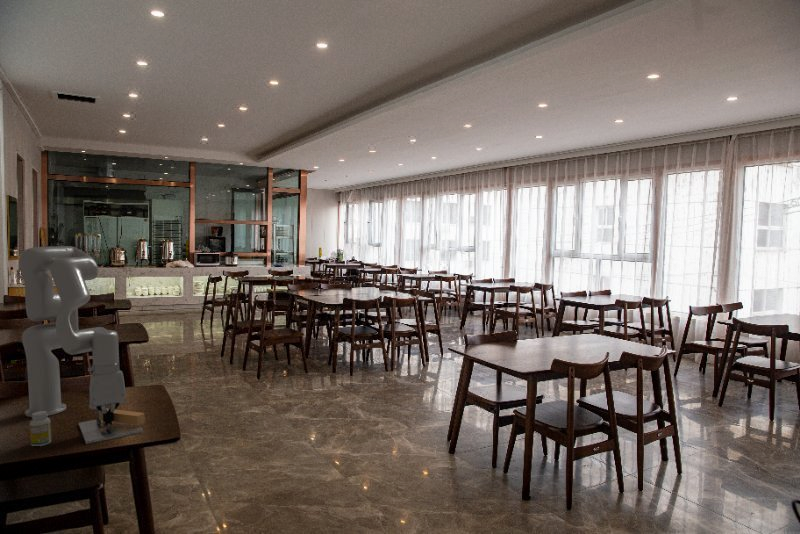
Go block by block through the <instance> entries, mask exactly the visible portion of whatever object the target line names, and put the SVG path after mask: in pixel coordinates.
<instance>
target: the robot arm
mask: <svg viewBox="0 0 800 534" xmlns="http://www.w3.org/2000/svg"><path fill="white" fill-rule="evenodd" d="M18 267H19V270H20V273H21V276H22V279H23V281H24V282H23V283H24V298H25V299H24V300H25V311H26V315H27V319H28V320H30V321H31V322H42V321H43V322H44V321H51V320H55V322H48V323H43V324H42V323H41V324H36V325H33V326H30V327H28V328H26V329H25V330H24V331H23V332H22V335H21V342H22V345H23V348H24V353H25V360H26V367H27V368H26V371H27V383H28V384H27V385H28V397H29V398H28V399H29V400H28V401H29V402H28V403H29V408H27V409H26V410H25V411H24V416H26V417H28V418H29V417H30V418H32V414H33V413H35V412H39V411H47V413H48V416H54V415H57V414H59V413H63V412H64V411H65V410H66V409H67V404H65V403H63V402H62V394H61V377H60V376H61V375H60V373H61V372H60V361H59V359H58V358H57V356H56V355H55V354H54V353H53V352H52V351H53V350H56V349H57V350H58V349H62V350H63V351H64V352H65V353H67V354H69V355H78V354H83V353H88V352H91V353H92V365H91V366H89V367H87V371H88V372H91V375H90V379H89V392H88V393H89V397H88V398H89V405H88V408H89V409H90V410H96V409H98V410H99V411H101V412H102V413H103V422H105V423H106V425H108V424H112V421H114V411H115V410H117V408H118V407H119V406H121V405H124V404H126V403H127V399H126V396H127V395H126V386H125V378H124V373H123V371H122V370H120V353H119V352H120V351H119V347H120V345H119V334H118V332H117V331H116V330H113V329H107V328H105V327H102V326H97V327H89V328H83V329H79V308H80V307H82V306H84V305H86V304H87V303H88V302H90V300H91V294H90V292H89V289H88V287H87V283H86V281H93V280H95V279H96V278H97V276H98V275H99V266H98V264H97V262H96V260H95V259H94V258H93V257H92V256H90V255H89V254H88V253H86V252H85V251H82V250H81V249H79V248H77V247H75V246H71V245H59V246H58V245H57V246H55V245H54V246H51V245H49V246H36V247H35V246H34V247H29V248H25V250H23V251H22V252H21V254H20V255H19V260H18ZM48 272H50V274H51V275H49V274H48ZM54 285H55V287H54ZM54 288H56V291H57V292H55V291H54V290H55V289H54ZM108 405H109V408H108V409H109V410H108V411H107V409H106V408H107V407H106V406H108ZM48 416H47V417H48Z"/></svg>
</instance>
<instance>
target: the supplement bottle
mask: <svg viewBox="0 0 800 534" xmlns="http://www.w3.org/2000/svg"><path fill="white" fill-rule="evenodd" d="M31 419H32V420H30V422H29V435H30V439H29V440H30V445H31V447H33V446H40V447H44V446H48V445H49V444H51V442H52V425H51V418H49V417H48V413H47V411H39V412H35V413H33V414H32V417H31Z"/></svg>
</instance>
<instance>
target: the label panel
mask: <svg viewBox="0 0 800 534" xmlns="http://www.w3.org/2000/svg"><path fill="white" fill-rule="evenodd" d="M95 417H96V418H95V419H93V420H86V421H81V422H78V426H79V429H80V432H81V435H82V437H83V440H84V443H85V445H89V444H90V445H91V444H93V443H94V444H95V443H98V442H99V443H100V442H102V441H103V442H105V441H107V440H112V439H118V438H123V437H128V436H132V435H136V434H142V433H144V430H143V428H142V426H141V424H140V425H133V424H126V423H118V422H112V424H108V425H106V423H105V422H103V420H99V410H98V409H95Z"/></svg>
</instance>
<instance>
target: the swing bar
mask: <svg viewBox="0 0 800 534" xmlns="http://www.w3.org/2000/svg"><path fill="white" fill-rule="evenodd" d="M106 409H107V411H108V410H109V408H107V407H106ZM145 417H146V416H145V412H140V411H139V412H138V411H130V410H124V409H123V410H122V409H115V411H114V421H112V422H118V423H126V424H133V425H140V426H141V424H144V423H146V418H145ZM99 420H103V413H102V412H101V411H99Z"/></svg>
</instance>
